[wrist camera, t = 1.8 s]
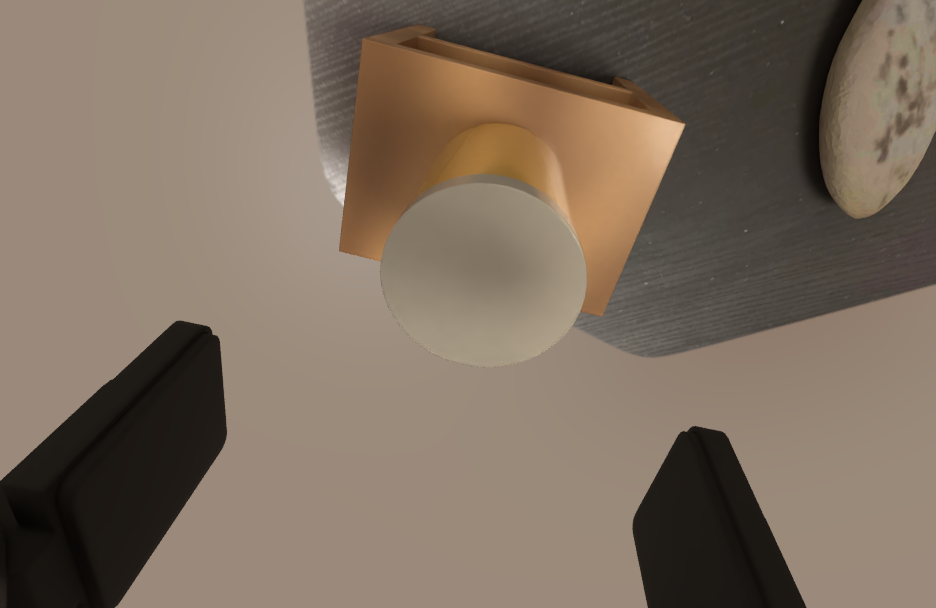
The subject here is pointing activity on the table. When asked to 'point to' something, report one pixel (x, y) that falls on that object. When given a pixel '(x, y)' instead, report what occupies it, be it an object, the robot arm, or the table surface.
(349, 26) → the table surface
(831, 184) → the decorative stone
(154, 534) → the robot arm
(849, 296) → the table surface
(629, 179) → the shelf
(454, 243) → the jar
